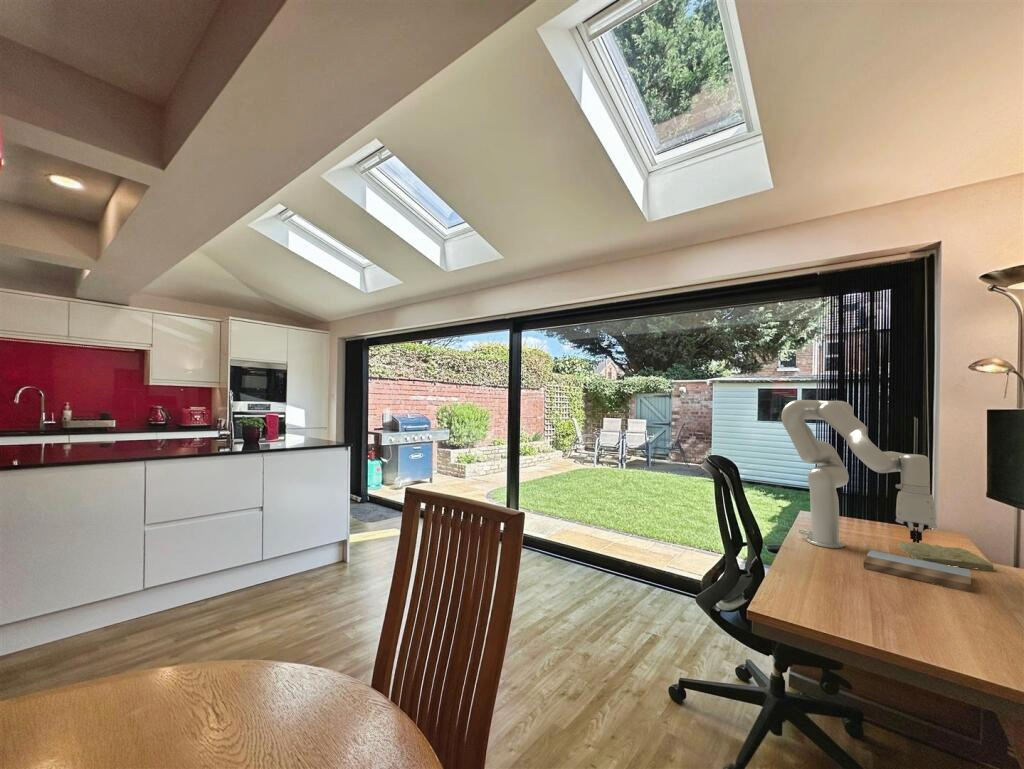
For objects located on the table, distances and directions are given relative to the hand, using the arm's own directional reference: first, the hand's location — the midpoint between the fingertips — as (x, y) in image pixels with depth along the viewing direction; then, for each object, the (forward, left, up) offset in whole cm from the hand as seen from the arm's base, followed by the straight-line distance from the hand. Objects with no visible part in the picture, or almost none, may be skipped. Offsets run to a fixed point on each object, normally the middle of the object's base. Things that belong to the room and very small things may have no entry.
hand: (916, 541), depth 154 cm
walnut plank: (0, -10, -9) cm, 14 cm away
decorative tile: (+6, +20, -10) cm, 23 cm away
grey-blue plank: (0, -2, -9) cm, 9 cm away
